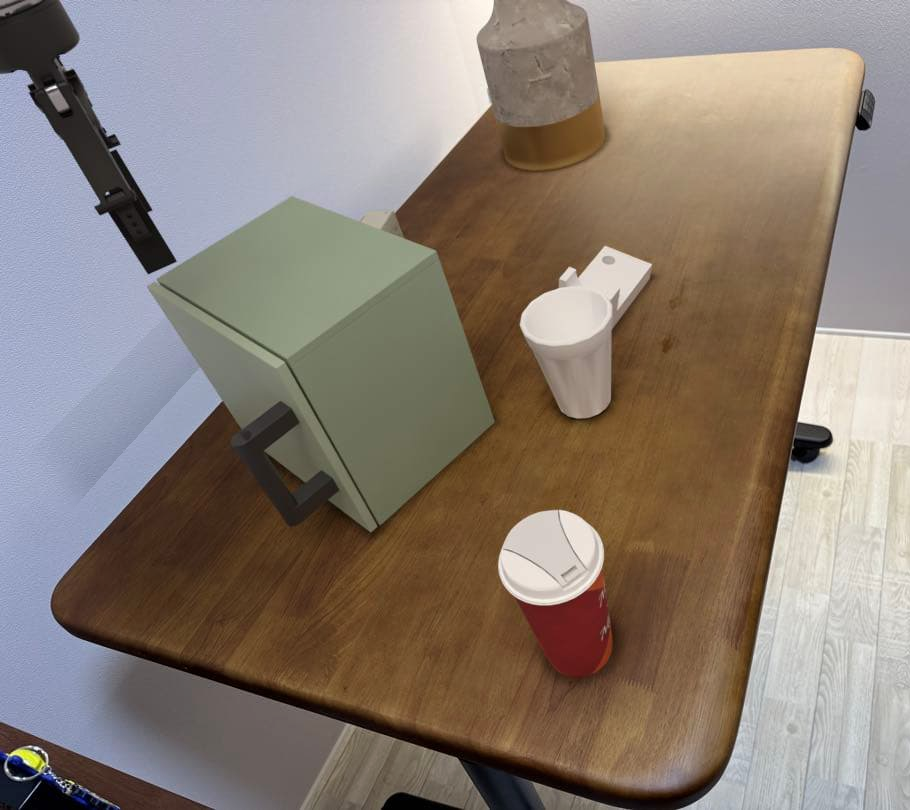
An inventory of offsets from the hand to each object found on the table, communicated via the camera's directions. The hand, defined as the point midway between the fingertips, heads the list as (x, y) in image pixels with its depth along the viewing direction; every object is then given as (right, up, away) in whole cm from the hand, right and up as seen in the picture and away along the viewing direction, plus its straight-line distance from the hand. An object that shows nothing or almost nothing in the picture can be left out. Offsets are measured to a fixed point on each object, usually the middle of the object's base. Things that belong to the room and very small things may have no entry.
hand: (150, 239), depth 75 cm
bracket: (+47, -3, +28) cm, 55 cm away
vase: (+40, +31, +65) cm, 82 cm away
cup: (+43, -16, +16) cm, 48 cm away
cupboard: (+17, -19, +20) cm, 32 cm away
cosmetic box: (+17, +1, +40) cm, 44 cm away
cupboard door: (+9, -26, +14) cm, 31 cm away
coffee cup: (+41, -37, -6) cm, 56 cm away
